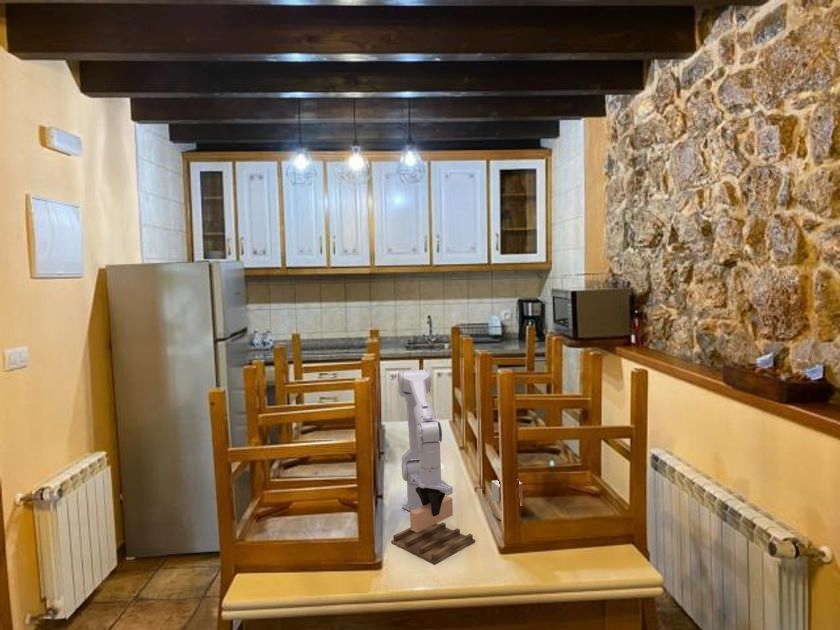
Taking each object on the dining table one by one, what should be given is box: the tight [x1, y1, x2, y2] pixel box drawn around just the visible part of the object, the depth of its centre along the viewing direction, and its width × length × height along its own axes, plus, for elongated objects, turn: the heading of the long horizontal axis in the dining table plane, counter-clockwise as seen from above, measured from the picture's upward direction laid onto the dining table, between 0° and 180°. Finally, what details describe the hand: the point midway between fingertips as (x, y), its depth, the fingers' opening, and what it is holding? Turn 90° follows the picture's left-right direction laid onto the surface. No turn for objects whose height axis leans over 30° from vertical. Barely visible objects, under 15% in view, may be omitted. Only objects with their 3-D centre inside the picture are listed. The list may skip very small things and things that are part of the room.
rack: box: [390, 522, 476, 566], centre depth 157 cm, size 16×17×2 cm
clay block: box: [409, 495, 454, 532], centre depth 156 cm, size 14×2×5 cm, turn 134°
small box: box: [491, 479, 524, 507], centre depth 171 cm, size 8×6×10 cm
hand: (431, 513), depth 156 cm, fingers closed on clay block, 2 cm apart
